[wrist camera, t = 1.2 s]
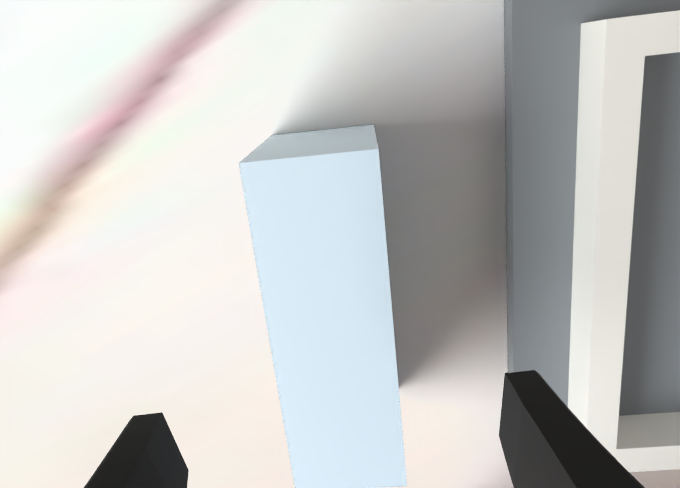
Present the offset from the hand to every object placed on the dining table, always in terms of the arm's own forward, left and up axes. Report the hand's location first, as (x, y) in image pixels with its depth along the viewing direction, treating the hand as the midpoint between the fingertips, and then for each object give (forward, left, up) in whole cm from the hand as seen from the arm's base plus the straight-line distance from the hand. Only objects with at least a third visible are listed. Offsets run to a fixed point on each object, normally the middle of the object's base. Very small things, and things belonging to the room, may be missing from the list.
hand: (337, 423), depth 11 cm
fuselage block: (-1, +1, -11) cm, 12 cm away
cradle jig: (-1, -13, -11) cm, 18 cm away
